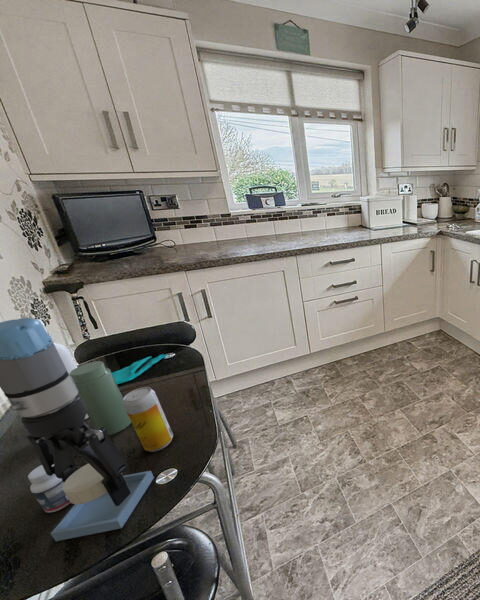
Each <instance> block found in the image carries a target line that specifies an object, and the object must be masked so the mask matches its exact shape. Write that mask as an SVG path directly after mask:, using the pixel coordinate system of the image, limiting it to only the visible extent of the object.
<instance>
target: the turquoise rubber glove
mask: <svg viewBox="0 0 480 600" xmlns="http://www.w3.org/2000/svg"><path fill="white" fill-rule="evenodd" d="M166 356H167V354H163V353H162V354H159V355H158V356H156V357H154V358H153V357H152V356H147V357H144V358H143V359H139V360H137V361H134V362H133V363H131V364H130V365H128V366H126V367H123V368H121V369H118V370H115V371H114V372H111V373H112V375H113V377H114V379H115V381H116V383H117V385H119V384H123V383H127V382H130V381H132V380H134V379H136V378H137V377H139V376H141V375H142V374H143V373H145V372H146V371H147V370H149V369H150V368H151V367H152V366H153V365H155V364H157V363H159V362H160V360H162V359H164V358H165V357H166Z"/></svg>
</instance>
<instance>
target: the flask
mask: <svg viewBox="0 0 480 600" xmlns="http://www.w3.org/2000/svg"><path fill="white" fill-rule="evenodd" d="M112 373H113V372H112V370H111V369H110V368H108V367H106V365H105V362H104V361H101V360H95V361H91V362H87V363H84V364H81V365H79V366H77V368H75V369H74V370H72V371H71V372H70V376H71V377H72V379H73V382H74V384H75V386H76V387H77V389H78V394H77V395H80V396H81V398H82V400H83V401H84V403H85V405H86V407H87V409H88V411H87V415H88V417H89V418H88V419H89V420H90V423H91V424H92V426H93V428H94V430H98V429H99V428H100V427H105V428H106V429H107V432H108V436H111V435H115V434H117V433H119V432H122V431H123V430H125V429H126V428H127V427H129V426H130V425H131V424H132V423H131V420H130V418H129V416H128V414H127V412H126V410H125V408H124V406H123V398H124V396H123V394H122V392H121V390H120V388H119V386H118V385H119V384H117V383H116V381H115V379H114V377H113V375H112Z"/></svg>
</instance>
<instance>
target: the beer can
mask: <svg viewBox="0 0 480 600" xmlns="http://www.w3.org/2000/svg"><path fill="white" fill-rule="evenodd" d="M123 406H124V408H125V410H126V412H127V414H128V416H129V418H130V420H131V424H132V427H133V429H134V431H135V433H136V435H137V437H138V439H139V441H140V443H141V446H142V448H143V450H144V451H147V452H153V453H154V452H158V451H160V450H163V449H164V448H166V447H168V445H169V444H170V443H171V442H172V440H173V438H174V433H173V431H172V428H171V426H170V424H169V422H168V420H167V417H166V414H165V412H164V410H163V408H162V405H161V403H160V400H159V398H158V396H157V394H156V391H155V390H153V389H152V388H151V386H150V387H149V386H144V387H143V386H142V387H139V388H136V389H134V390H132V391H130V392H128V393H127V394H125V395H124V396H123Z"/></svg>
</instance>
